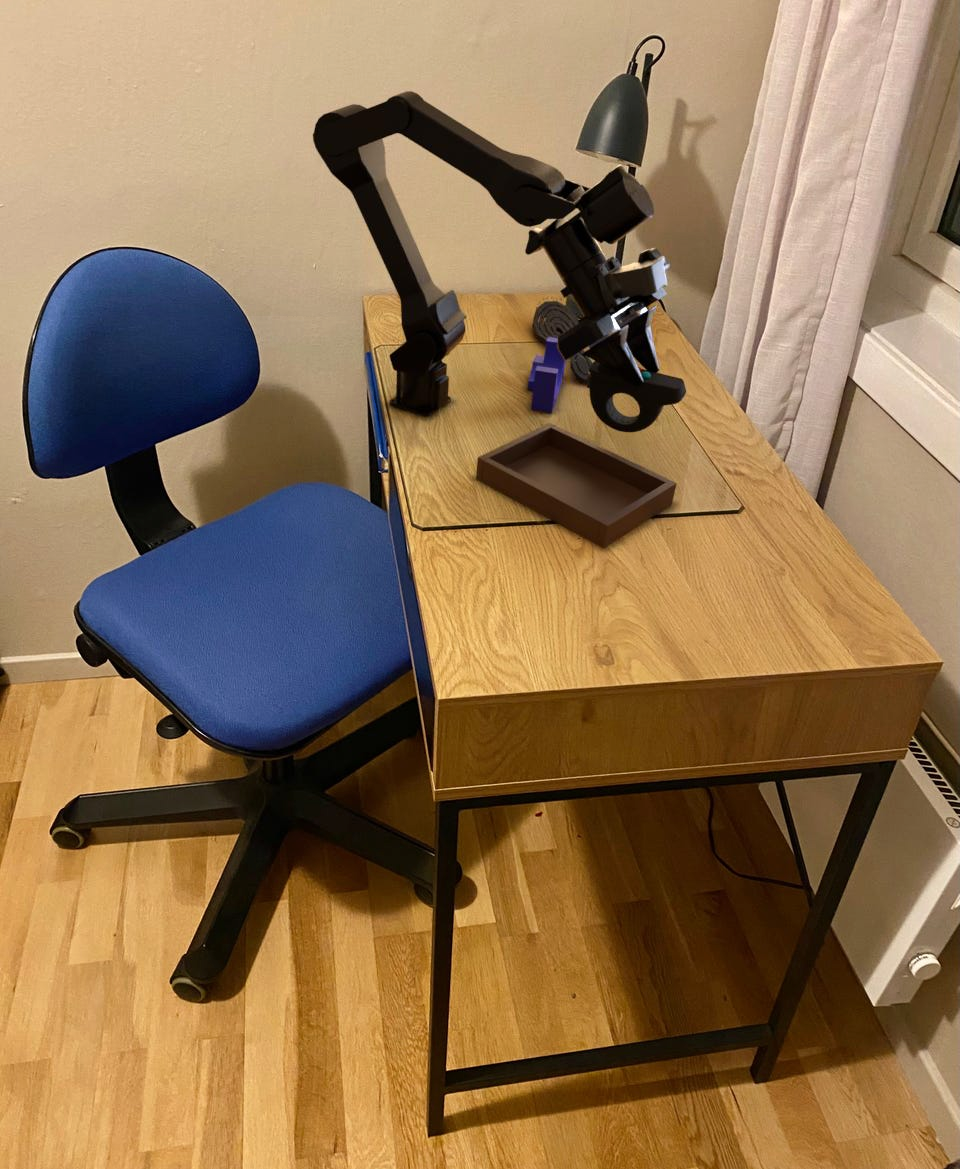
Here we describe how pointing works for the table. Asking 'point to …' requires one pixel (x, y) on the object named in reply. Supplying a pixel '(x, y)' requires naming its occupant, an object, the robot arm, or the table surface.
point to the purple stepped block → (546, 377)
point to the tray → (576, 483)
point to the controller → (647, 395)
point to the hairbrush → (560, 332)
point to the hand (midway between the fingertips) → (648, 378)
